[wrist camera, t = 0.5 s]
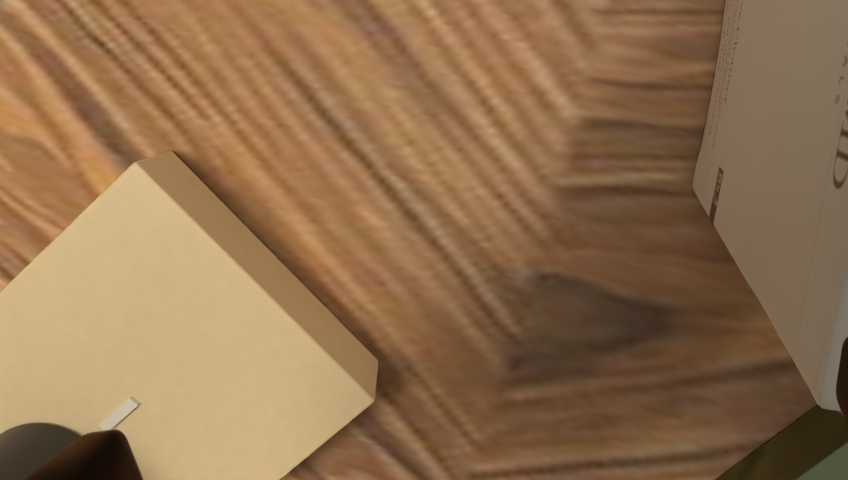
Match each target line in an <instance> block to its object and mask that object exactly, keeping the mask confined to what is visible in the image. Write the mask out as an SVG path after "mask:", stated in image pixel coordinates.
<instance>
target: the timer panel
mask: <svg viewBox="0 0 848 480" xmlns="http://www.w3.org/2000/svg"><path fill="white" fill-rule="evenodd" d="M377 372H378V360H377V359H376V358H375V357H374V356H373V355H372V354H371V353H370V352H369V351H368V350H367V349H366V348H365V347H364V346H363V345H362V344H361V343H360V342H359V341H358V340H357V339H356V338H355V337H354V336H353V335H352V334H351V333H350V331H349V330H348V329H347V328H346V327H345V326H344V325H343V324H342V323H341V322H340V321H339V320H338V319H337V318H336V317H335V316H334V315H333V314H332V313H331V312H330V311H329V310H328V309H327V308H326V307H325V306H324V305H323V304H322V303H321V302H320V301H319V300H318V299H317V298H316V297H315V296H314V295H313V294H312V293H311V292H310V291H309V290H308V289H307V288H306V287H305V286H304V285H303V284H302V283H301V282H300V281H299V280H298V279H297V278H296V277H295V276H294V275H293V274H292V273H291V272H290V271H289V270H288V269H287V267H286V266H285V265H284V264H283V263H282V262H281V261H280V260H279V259H278V258H277V257H276V256H275V255H274V254H273V253H272V252H271V251H270V250H269V249H268V248H267V247H266V246H265V245H264V244H263V243H262V242H261V241H260V240H259V239H258V238H257V237H256V236H255V235H254V234H253V233H252V232H251V231H250V230H249V229H248V228H247V227H246V226H245V225H244V224H243V223H242V222H241V221H240V220H239V219H238V218H237V217H236V216H235V215H234V214H233V213H232V212H231V211H230V210H229V209H228V208H227V207H226V206H225V204H224V203H223V202H222V201H221V200H220V199H219V198H218V197H217V196H216V195H215V194H214V193H213V192H212V191H211V190H210V189H209V188H208V187H207V186H206V185H205V184H204V183H203V182H202V181H201V180H200V179H199V178H198V177H197V176H196V175H195V174H194V173H193V172H192V171H191V170H190V169H189V168H188V167H187V166H186V165H185V164H184V163H183V162H182V161H181V160H180V159H179V158H178V157H177V156H176V155H175V154H174V153H173V152H172V151H167V152H164V153H161V154H158V155H155V156H152V157H149V158H146V159H143V160H140V161H137V162H135V163H133V164H132V165H131V166H130V167H129V168H128V169H127V170H126V171H125V172H124V173H123V174H122V175H120V176H119V177H118V178H117V179H116V180H115V181H114V182H113V183H112V184H111V185H110V186H109V187H108V188H107V189H106V190H105V191H104V192H103V193H102V194H101V195H100V196H99V197H98V198H97V199H96V200H95V201H94V202H93V203H92V204H91V205H89V206H88V207H87V208H86V209H85V210H84V211H83V212H82V213H81V214H80V215H79V216H78V217H77V218H76V219H75V220H74V221H73V222H72V223H71V224H70V225H69V226H68V227H67V228H66V229H65V230H64V231H63V232H62V233H61V234H60V235H58V236H57V237H56V238H55V239H54V240H53V241H52V242H51V243H50V244H49V245H48V246H47V247H46V248H45V249H44V250H43V251H42V252H41V253H40V254H39V255H38V256H37V257H36V258H35V259H34V260H33V261H32V262H31V263H30V264H29V265H27V266H26V267H25V268H24V269H23V270H22V271H21V272H20V273H19V274H18V275H17V276H16V277H15V278H14V279H13V280H12V281H11V282H10V283H9V284H8V285H7V286H6V287H5V288H4V289H3V290H2V291H1V292H0V434H1V433H3V432H5V431H6V430H8V429H11V428H13V427H16V426H20V425H24V424H31V423H43V424H51V425H56V426H59V427H62V428H65V429H68V430H70V431H72V432H74V433H76V434H77V435H79V436H83V435H84V434H87V433H90V432H97V431H105V430H113V429H117V430H120V431H122V432H123V433H124V434H125V436H126V438H127V440H128V442H129V444H130V447H131V449H132V452H133V454H134V457H135V459H136V462H137V464H138V467H139V469H140V471H141V474H142V477H143V480H280V479H281V478H283V477H284V476H285V475H286V474H287V473H289V472H290V471H291V470H292V469H293V468H295V467H296V466H297V465H298V464H300V463H301V462H302V461H303V460H304V459H306V458H307V457H308V456H309V455H310V454H312V453H313V452H314V451H315V450H316V449H318V448H319V447H320V446H321V445H322V444H324V443H325V442H326V441H327V440H329V439H330V438H331V437H332V436H333V435H335V434H336V433H337V432H338V431H339V430H341V429H342V428H343V427H344V426H345V425H347V424H348V423H349V422H350V421H351V420H353V419H354V418H355V417H356V416H357V415H359V414H360V413H361V412H362V411H364V410H365V409H366V408H367V407H368V406H370V405H371V404H372V403H373V402H374V401H375V392H376V382H377Z"/></svg>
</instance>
